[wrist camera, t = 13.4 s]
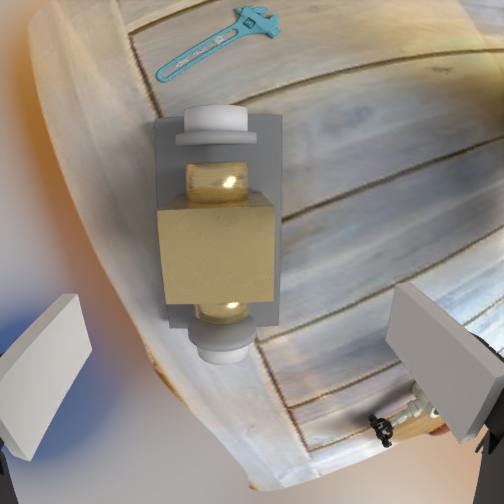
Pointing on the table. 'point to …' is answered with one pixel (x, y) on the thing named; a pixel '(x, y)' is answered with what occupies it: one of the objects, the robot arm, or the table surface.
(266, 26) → the adjustable wrench
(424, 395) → the valve
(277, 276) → the pipe run plate
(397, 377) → the table surface
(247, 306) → the brass gate valve
